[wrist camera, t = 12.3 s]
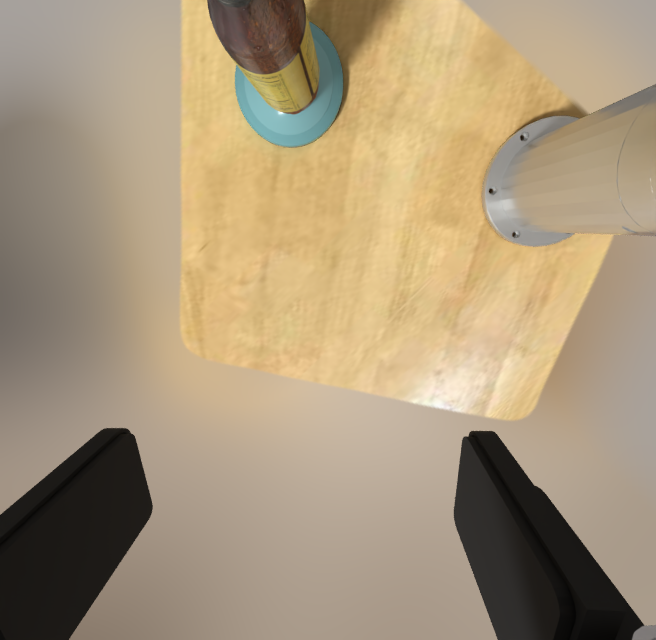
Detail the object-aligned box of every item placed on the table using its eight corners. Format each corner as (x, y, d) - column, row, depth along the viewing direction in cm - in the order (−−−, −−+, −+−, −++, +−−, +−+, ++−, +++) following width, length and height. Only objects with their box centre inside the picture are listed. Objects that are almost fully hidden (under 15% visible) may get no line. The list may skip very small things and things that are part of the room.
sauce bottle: (282, 29, 29) (166, -333, 10) (333, 75, 30) (313, -180, 11) (246, 93, 31) (89, -115, 12) (295, 135, 32) (221, 2, 13)
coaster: (338, 13, 29) (338, 7, 28) (346, 141, 33) (347, 139, 32) (228, 30, 30) (225, 24, 29) (247, 153, 33) (244, 151, 33)
